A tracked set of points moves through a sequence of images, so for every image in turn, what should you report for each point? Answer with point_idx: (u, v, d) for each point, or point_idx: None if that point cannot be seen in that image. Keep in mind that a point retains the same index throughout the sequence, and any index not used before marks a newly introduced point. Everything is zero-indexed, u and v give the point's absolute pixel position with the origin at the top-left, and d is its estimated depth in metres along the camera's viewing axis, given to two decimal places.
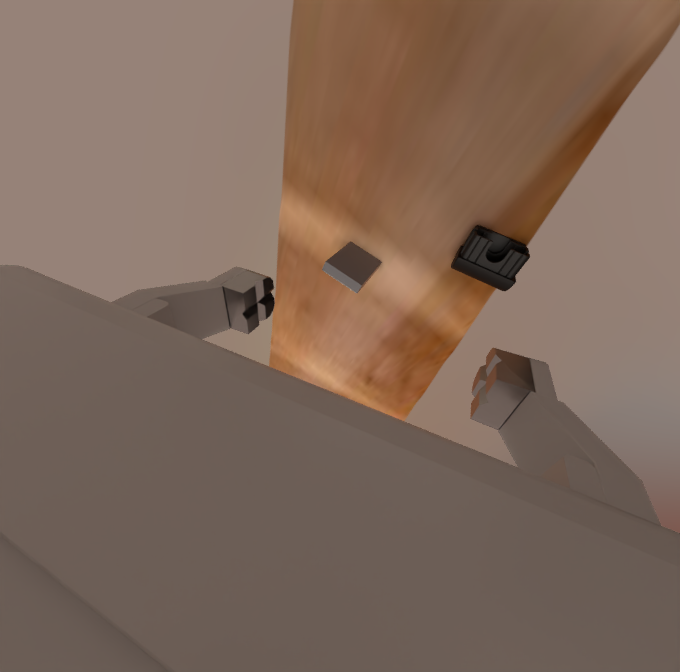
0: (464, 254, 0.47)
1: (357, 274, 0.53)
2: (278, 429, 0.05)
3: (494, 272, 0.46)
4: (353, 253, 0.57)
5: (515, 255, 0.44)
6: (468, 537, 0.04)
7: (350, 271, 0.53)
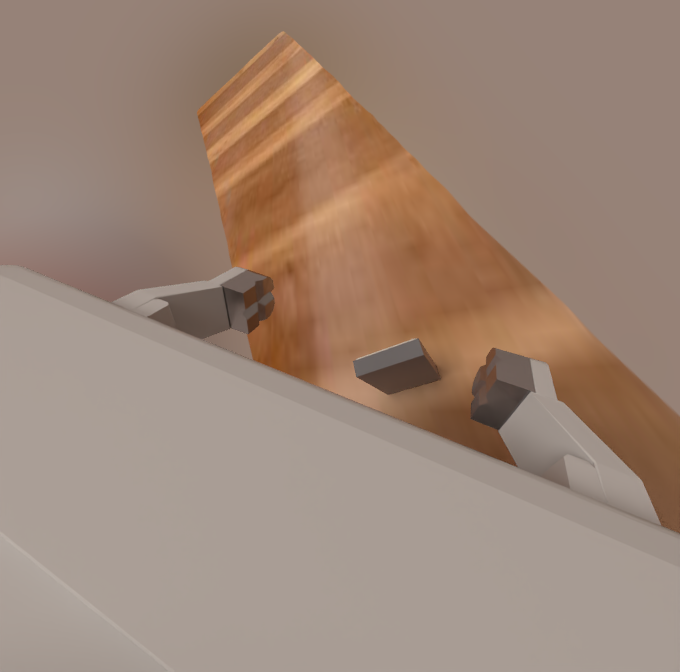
0: None
1: (379, 376, 0.34)
2: (278, 429, 0.05)
3: None
4: (418, 378, 0.37)
5: None
6: (468, 537, 0.04)
7: (388, 372, 0.33)
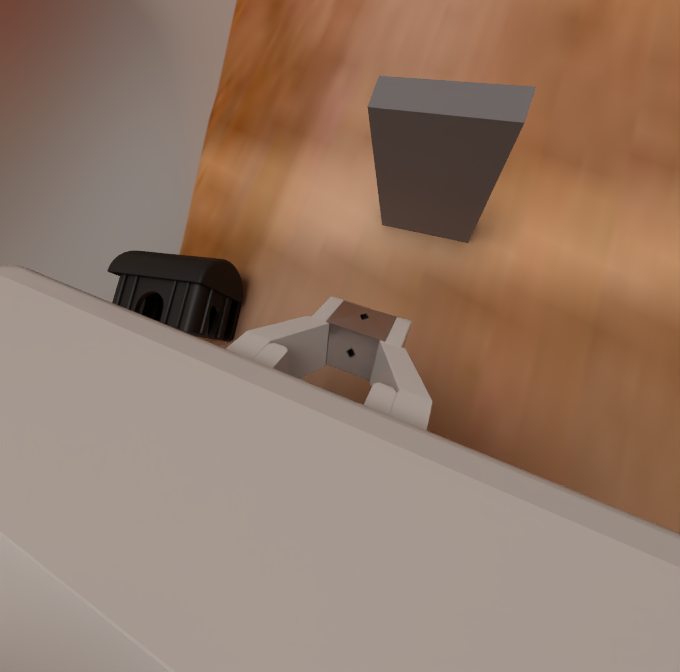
0: (197, 290, 0.23)
1: (402, 146, 0.17)
2: (278, 429, 0.05)
3: (138, 275, 0.24)
4: (447, 211, 0.22)
5: None
6: (468, 537, 0.04)
7: (425, 142, 0.17)
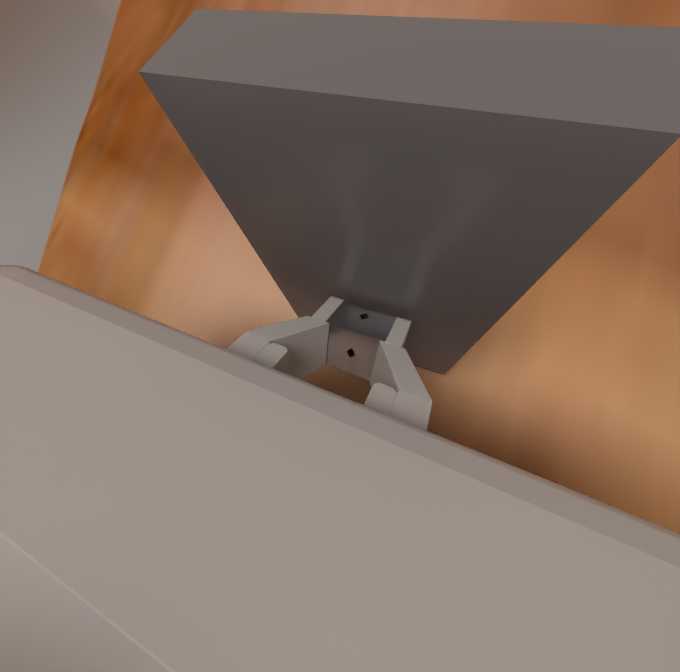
0: None
1: (278, 198, 0.07)
2: (278, 429, 0.05)
3: None
4: None
5: None
6: (468, 537, 0.04)
7: (326, 192, 0.06)
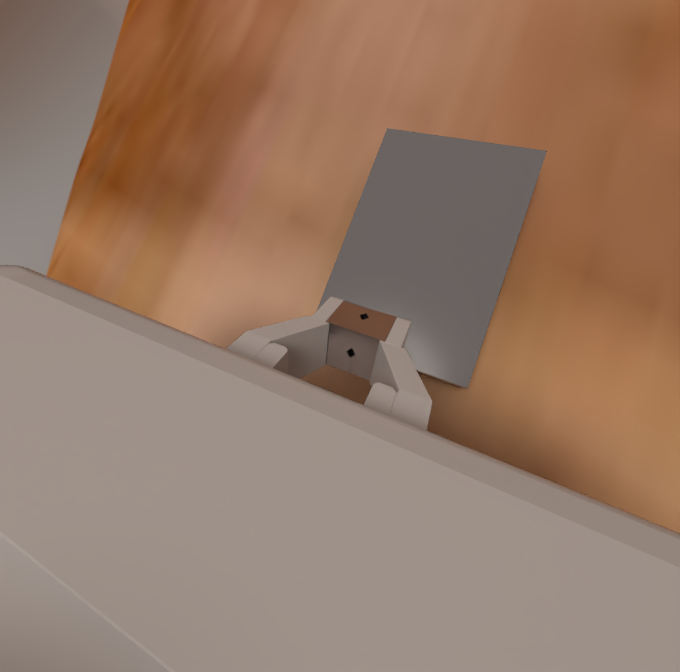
0: None
1: (408, 172, 0.15)
2: (278, 429, 0.05)
3: None
4: (441, 291, 0.13)
5: None
6: (468, 537, 0.04)
7: (437, 168, 0.14)
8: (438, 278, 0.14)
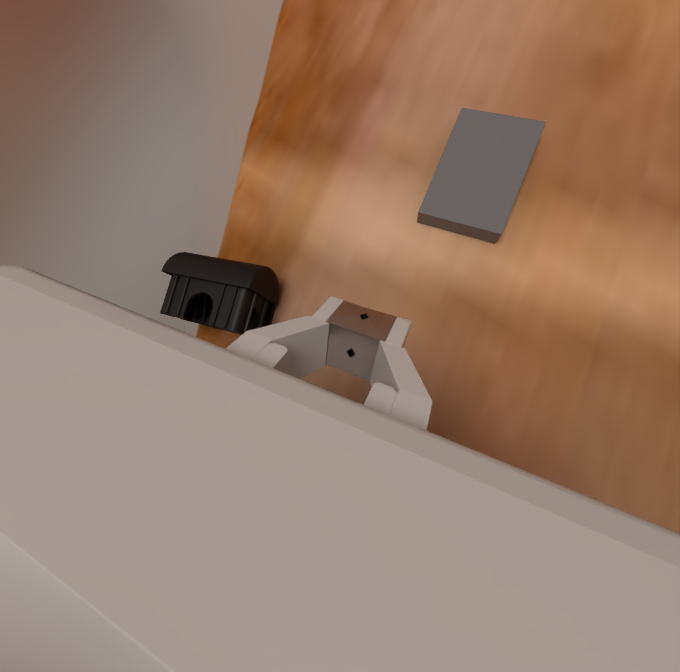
0: (244, 294, 0.26)
1: (473, 131, 0.28)
2: (278, 429, 0.05)
3: (191, 276, 0.27)
4: (490, 190, 0.27)
5: (174, 311, 0.27)
6: (468, 537, 0.04)
7: (489, 129, 0.28)
8: (488, 184, 0.27)
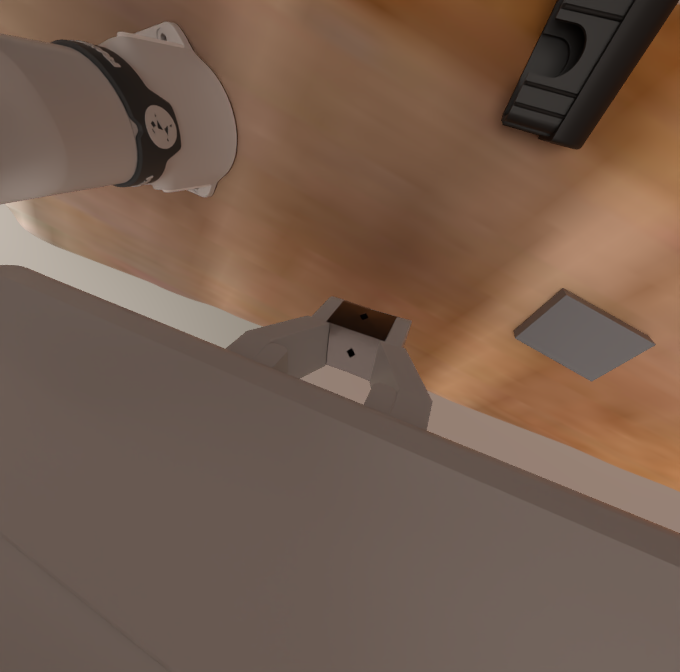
0: (549, 127, 0.23)
1: (621, 345, 0.35)
2: (278, 429, 0.05)
3: (616, 31, 0.19)
4: (554, 341, 0.37)
5: None
6: (468, 537, 0.04)
7: (613, 354, 0.36)
8: (561, 341, 0.37)
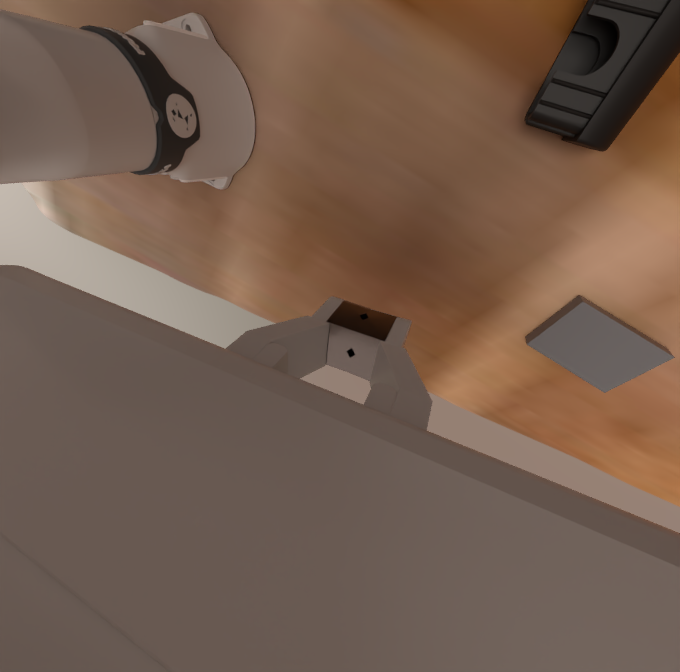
0: (574, 127, 0.23)
1: (637, 356, 0.34)
2: (278, 429, 0.05)
3: (651, 28, 0.18)
4: (568, 349, 0.36)
5: None
6: (468, 537, 0.04)
7: (629, 365, 0.35)
8: (575, 350, 0.36)
